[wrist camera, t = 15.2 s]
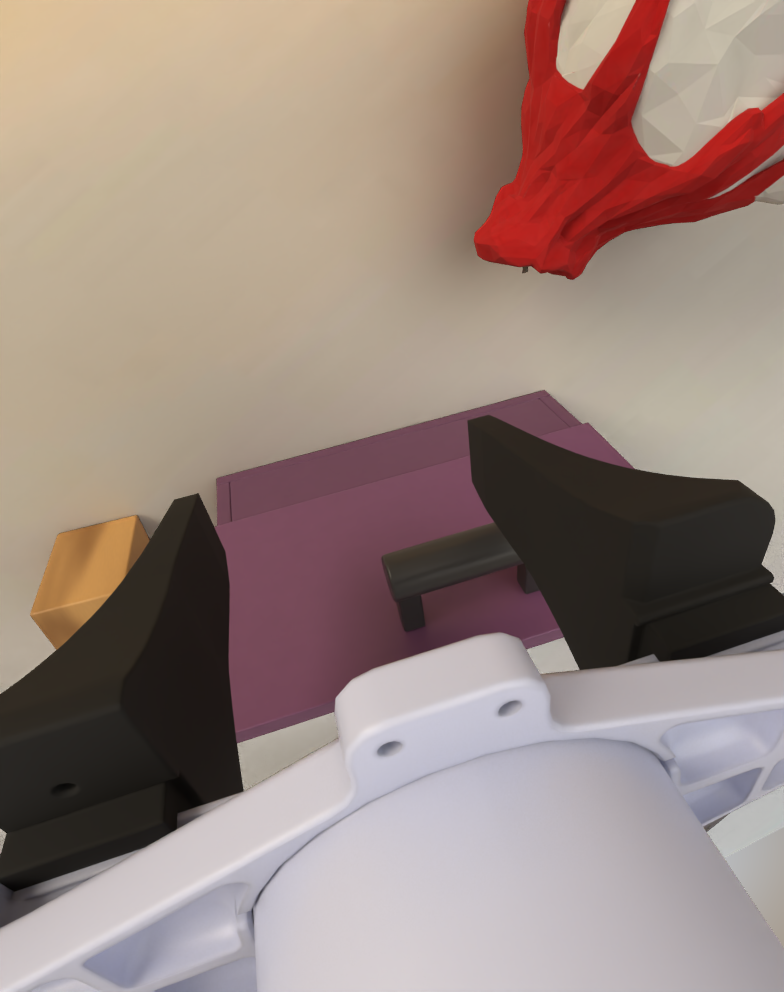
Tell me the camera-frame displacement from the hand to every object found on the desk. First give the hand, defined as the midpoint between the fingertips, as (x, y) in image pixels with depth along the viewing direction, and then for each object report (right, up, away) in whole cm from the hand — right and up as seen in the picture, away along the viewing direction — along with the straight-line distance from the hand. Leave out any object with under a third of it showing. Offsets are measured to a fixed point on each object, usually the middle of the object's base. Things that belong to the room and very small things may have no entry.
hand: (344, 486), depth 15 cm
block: (-9, -4, +10) cm, 14 cm away
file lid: (+3, -2, +5) cm, 7 cm away
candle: (+9, +15, +5) cm, 18 cm away
